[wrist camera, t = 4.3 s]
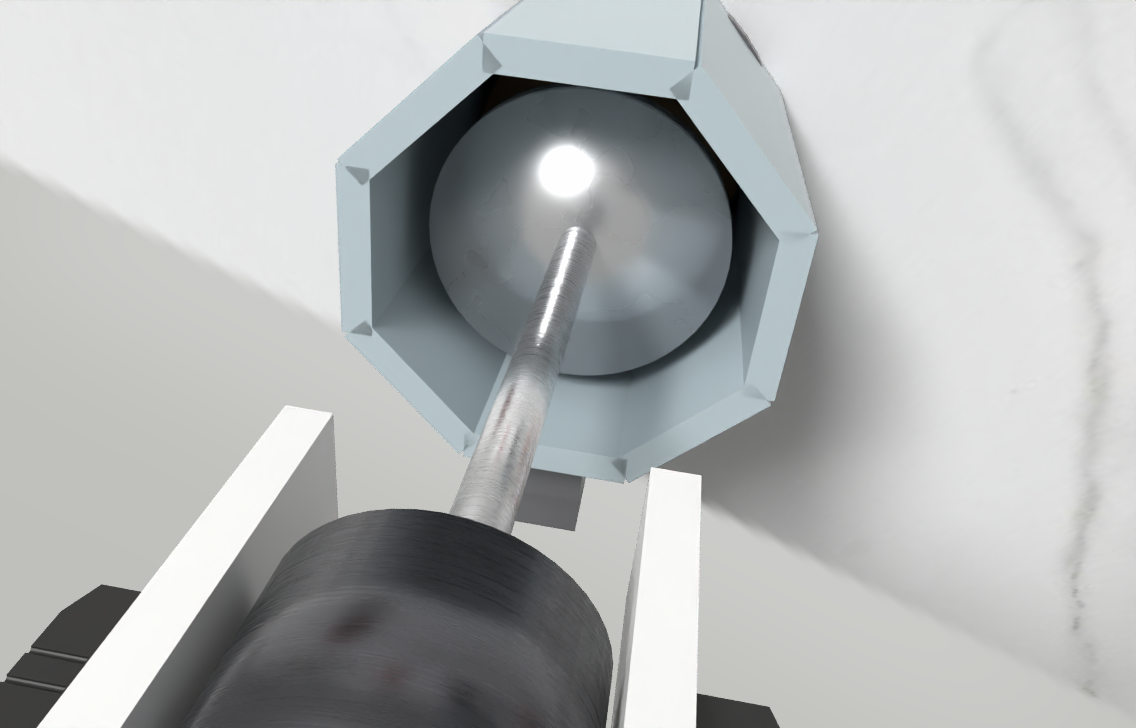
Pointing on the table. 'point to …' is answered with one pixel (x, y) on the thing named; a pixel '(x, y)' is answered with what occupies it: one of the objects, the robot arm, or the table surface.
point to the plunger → (496, 435)
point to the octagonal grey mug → (579, 402)
